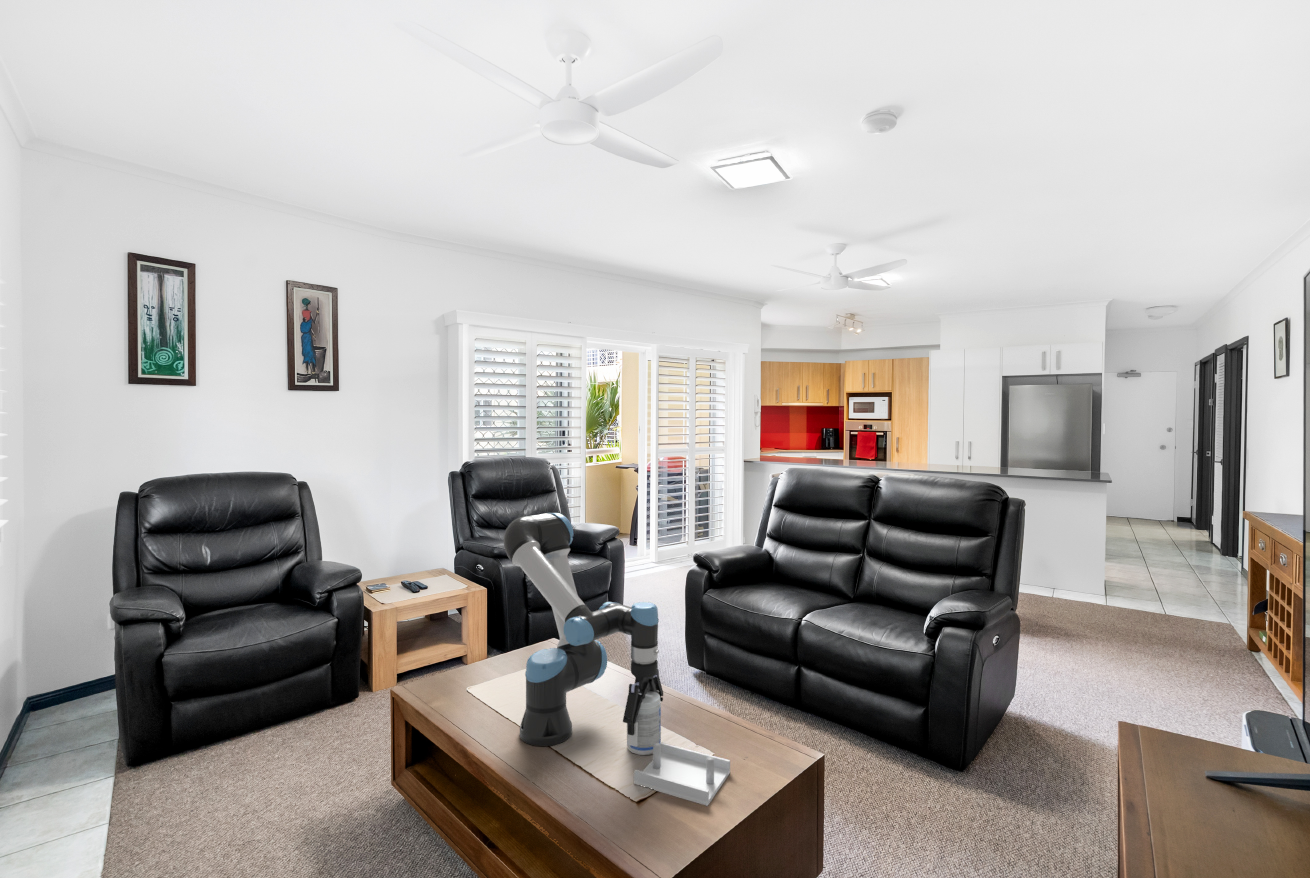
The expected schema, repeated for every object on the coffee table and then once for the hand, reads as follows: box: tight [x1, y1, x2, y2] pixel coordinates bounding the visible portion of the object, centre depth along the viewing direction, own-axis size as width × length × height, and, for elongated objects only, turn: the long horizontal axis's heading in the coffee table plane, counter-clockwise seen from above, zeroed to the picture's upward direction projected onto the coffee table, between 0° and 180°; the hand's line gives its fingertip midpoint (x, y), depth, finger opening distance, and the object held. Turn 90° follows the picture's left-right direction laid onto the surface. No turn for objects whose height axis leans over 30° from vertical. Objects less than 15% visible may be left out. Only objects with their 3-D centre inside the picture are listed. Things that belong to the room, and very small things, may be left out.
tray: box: [633, 742, 731, 807], centre depth 166 cm, size 20×16×7 cm
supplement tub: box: [626, 691, 662, 756], centre depth 181 cm, size 10×10×15 cm
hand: (643, 734), depth 181 cm, fingers open, 13 cm apart
